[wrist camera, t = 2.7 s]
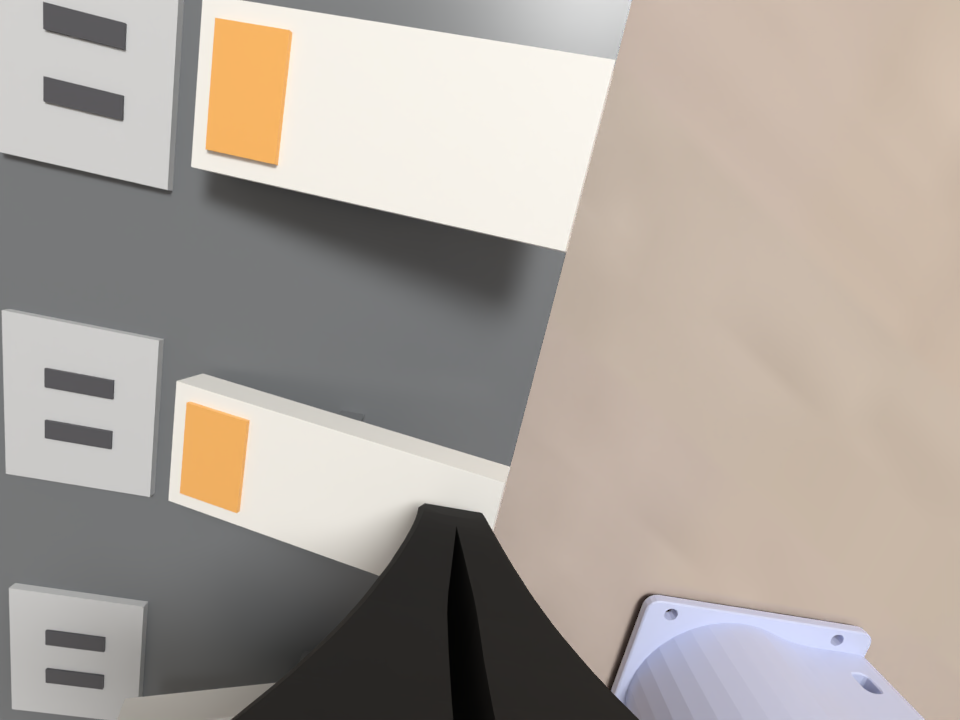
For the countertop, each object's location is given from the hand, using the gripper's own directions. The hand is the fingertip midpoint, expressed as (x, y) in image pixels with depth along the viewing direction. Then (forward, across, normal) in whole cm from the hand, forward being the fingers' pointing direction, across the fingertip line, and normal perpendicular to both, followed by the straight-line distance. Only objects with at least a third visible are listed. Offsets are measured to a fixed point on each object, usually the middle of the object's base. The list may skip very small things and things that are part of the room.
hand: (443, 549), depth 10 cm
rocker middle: (+2, +3, 0) cm, 3 cm away
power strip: (+6, +5, 0) cm, 8 cm away
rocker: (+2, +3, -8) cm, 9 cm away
